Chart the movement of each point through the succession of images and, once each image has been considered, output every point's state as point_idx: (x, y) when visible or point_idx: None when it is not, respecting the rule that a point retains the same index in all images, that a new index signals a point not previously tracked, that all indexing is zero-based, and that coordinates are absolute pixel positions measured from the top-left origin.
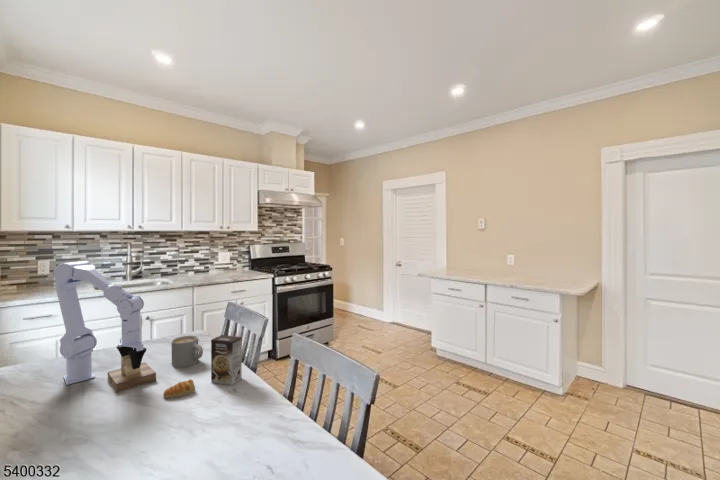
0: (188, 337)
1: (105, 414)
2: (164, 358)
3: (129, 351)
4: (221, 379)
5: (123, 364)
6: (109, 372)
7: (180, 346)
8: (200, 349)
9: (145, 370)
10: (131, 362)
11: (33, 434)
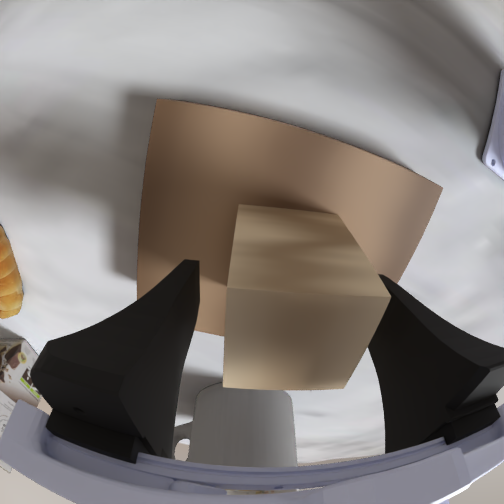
0: (272, 491)
1: (21, 30)
2: (359, 391)
3: (87, 397)
4: (2, 347)
5: (309, 250)
6: (423, 184)
7: None
8: None
9: (223, 309)
10: (175, 291)
11: None
